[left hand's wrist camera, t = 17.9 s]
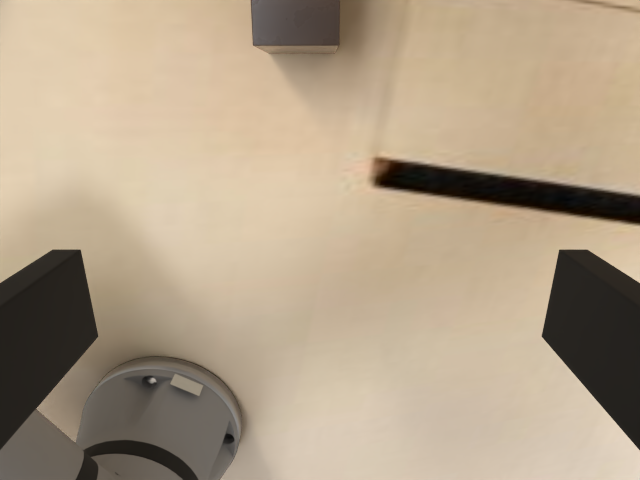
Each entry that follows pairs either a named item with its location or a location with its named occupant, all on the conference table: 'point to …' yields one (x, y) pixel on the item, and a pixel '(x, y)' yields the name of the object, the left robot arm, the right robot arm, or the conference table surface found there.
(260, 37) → the beam
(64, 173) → the conference table surface
